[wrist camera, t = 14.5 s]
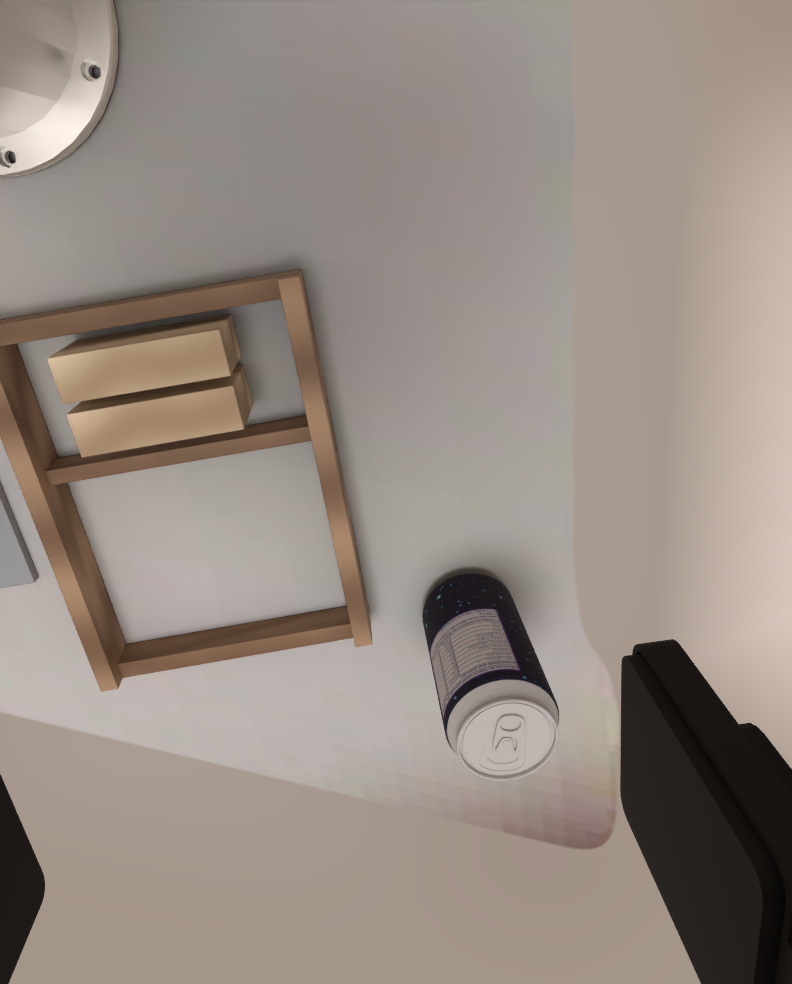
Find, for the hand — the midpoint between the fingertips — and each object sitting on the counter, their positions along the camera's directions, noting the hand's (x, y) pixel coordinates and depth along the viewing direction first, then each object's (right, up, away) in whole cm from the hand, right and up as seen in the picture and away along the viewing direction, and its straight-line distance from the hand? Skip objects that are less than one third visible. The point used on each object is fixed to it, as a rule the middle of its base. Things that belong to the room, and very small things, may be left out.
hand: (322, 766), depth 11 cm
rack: (-10, +4, +30) cm, 32 cm away
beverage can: (+5, -3, +35) cm, 36 cm away
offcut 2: (-11, +9, +28) cm, 32 cm away
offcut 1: (-11, +12, +27) cm, 32 cm away
